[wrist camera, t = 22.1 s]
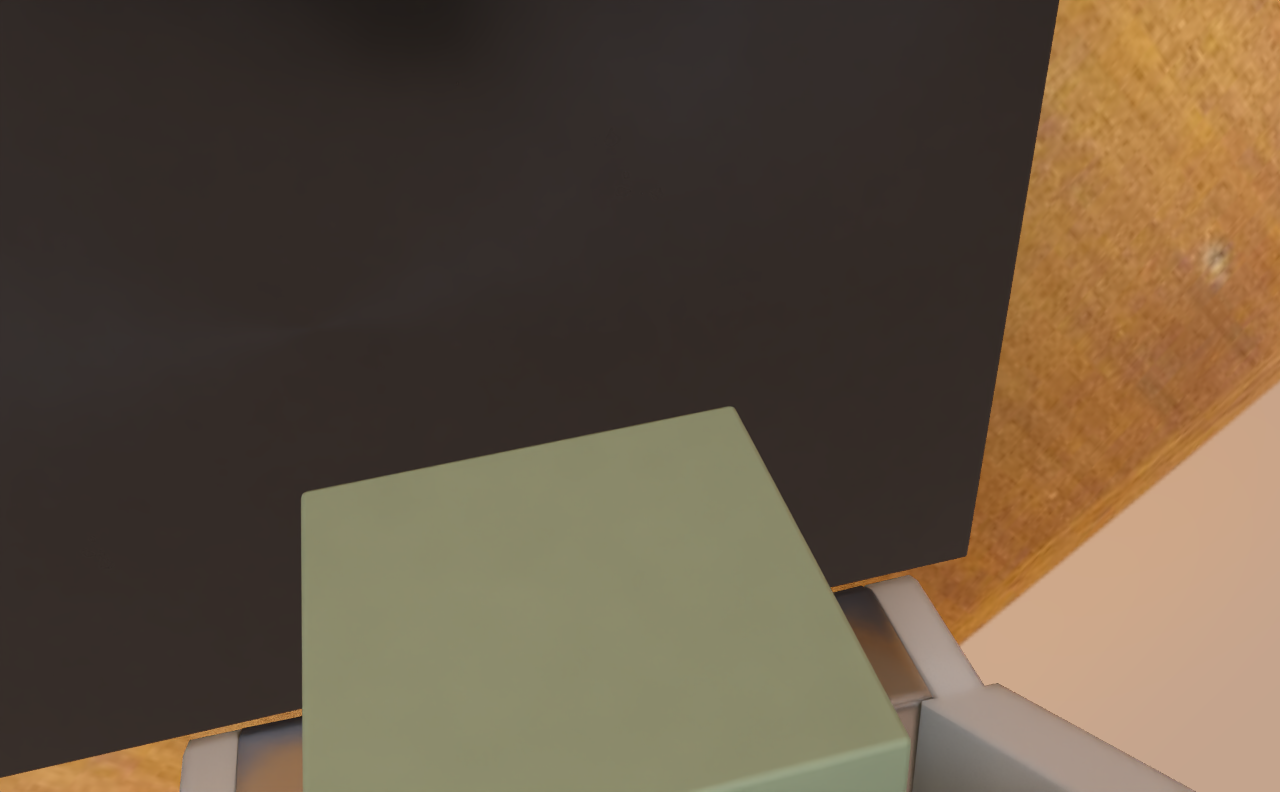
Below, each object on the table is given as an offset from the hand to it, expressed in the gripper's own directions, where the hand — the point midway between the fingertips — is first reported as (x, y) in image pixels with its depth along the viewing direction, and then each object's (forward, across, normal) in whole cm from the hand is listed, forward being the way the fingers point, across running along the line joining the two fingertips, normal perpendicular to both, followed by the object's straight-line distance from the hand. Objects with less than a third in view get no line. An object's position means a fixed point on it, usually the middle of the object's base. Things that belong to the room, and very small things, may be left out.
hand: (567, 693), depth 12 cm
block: (+1, 0, 0) cm, 1 cm away
